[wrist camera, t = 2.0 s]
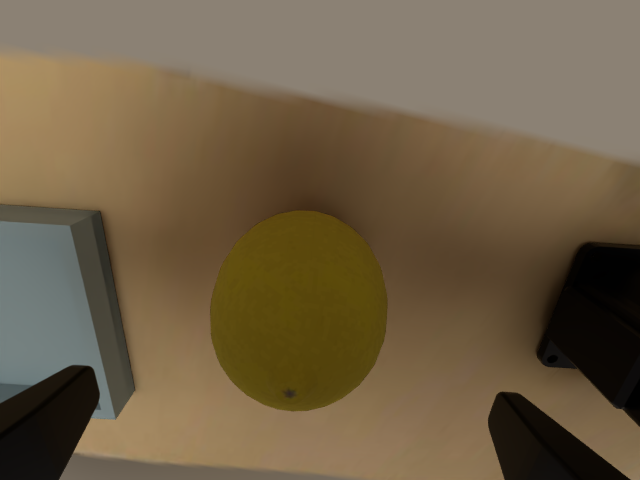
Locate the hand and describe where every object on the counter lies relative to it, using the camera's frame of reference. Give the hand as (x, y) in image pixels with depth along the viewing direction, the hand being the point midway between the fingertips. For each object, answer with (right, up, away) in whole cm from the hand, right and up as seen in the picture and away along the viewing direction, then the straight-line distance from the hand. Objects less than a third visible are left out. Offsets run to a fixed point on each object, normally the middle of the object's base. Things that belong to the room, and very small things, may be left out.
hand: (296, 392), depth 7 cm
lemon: (0, +3, +7) cm, 8 cm away
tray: (-14, 0, +9) cm, 17 cm away
